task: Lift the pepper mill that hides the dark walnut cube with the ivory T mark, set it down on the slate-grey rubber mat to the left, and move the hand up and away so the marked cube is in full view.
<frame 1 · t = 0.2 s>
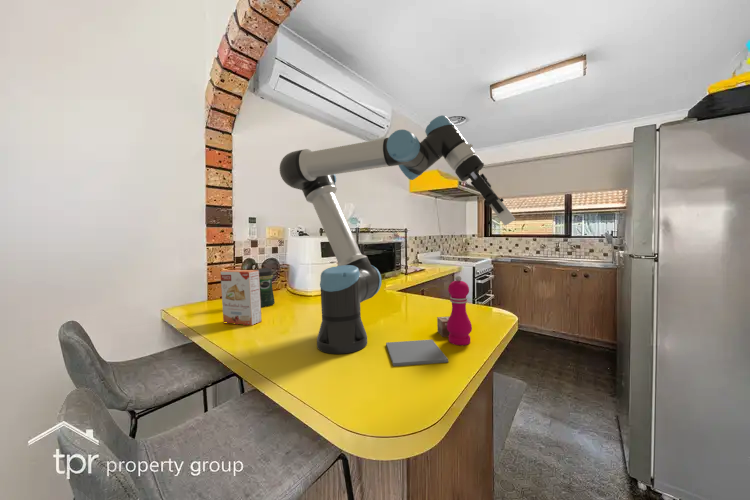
hand: (510, 222, 79), 35 cm above the countertop, tool tilted 35°, fingers open, 13 cm apart
marked cube: (447, 333, 94), on the countertop
pepper mill: (459, 342, 86), on the countertop
coffee jar: (264, 306, 142), on the countertop
cracker box: (242, 323, 113), on the countertop
grey mat: (414, 353, 79), on the countertop
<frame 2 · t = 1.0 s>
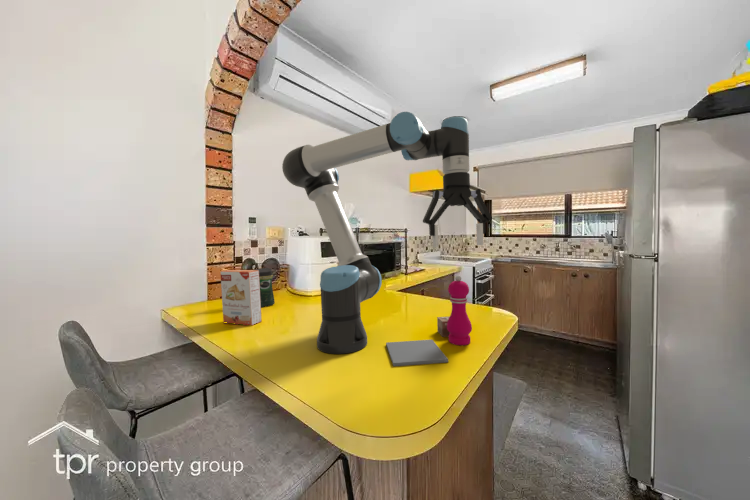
hand: (458, 246, 85), 29 cm above the countertop, tool pointing down, fingers open, 13 cm apart
nothing on the countertop moved.
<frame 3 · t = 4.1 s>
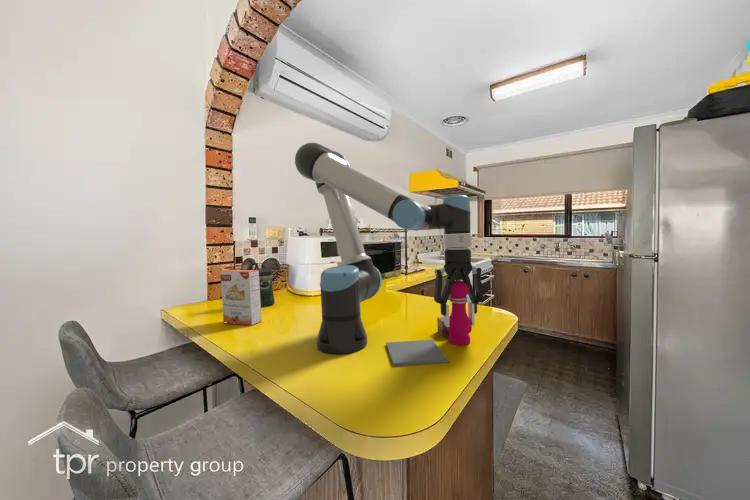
hand: (459, 324, 86), 5 cm above the countertop, tool pointing down, fingers closed on pepper mill, 7 cm apart
pepper mill: (459, 342, 86), on the countertop, touching gripper
everything else where it was.
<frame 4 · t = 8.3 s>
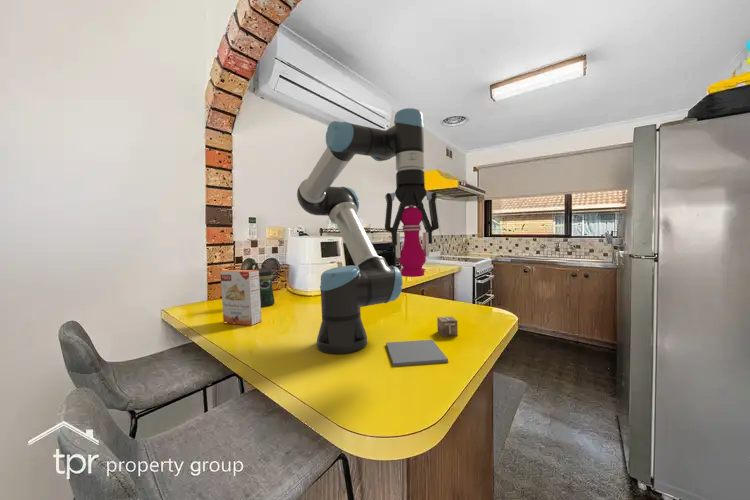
hand: (412, 256, 78), 27 cm above the countertop, tool pointing down, fingers closed on pepper mill, 7 cm apart
pepper mill: (412, 276, 78), point 21 cm above the countertop, touching gripper
everything else where it was.
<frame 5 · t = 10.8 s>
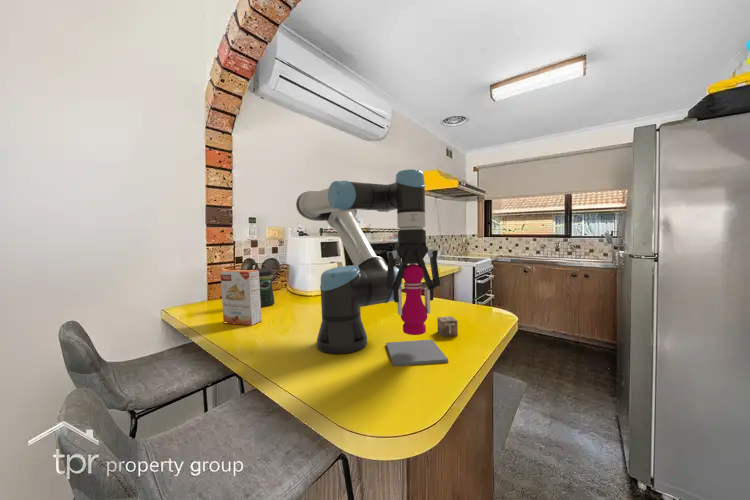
hand: (413, 313, 78), 11 cm above the countertop, tool pointing down, fingers closed on pepper mill, 7 cm apart
pepper mill: (414, 332, 79), point 6 cm above the countertop, touching gripper
everything else where it was.
when the fingers open (7 cm above the countertop, at t = 12.6 s): pepper mill drops 1 cm, resting on grey mat.
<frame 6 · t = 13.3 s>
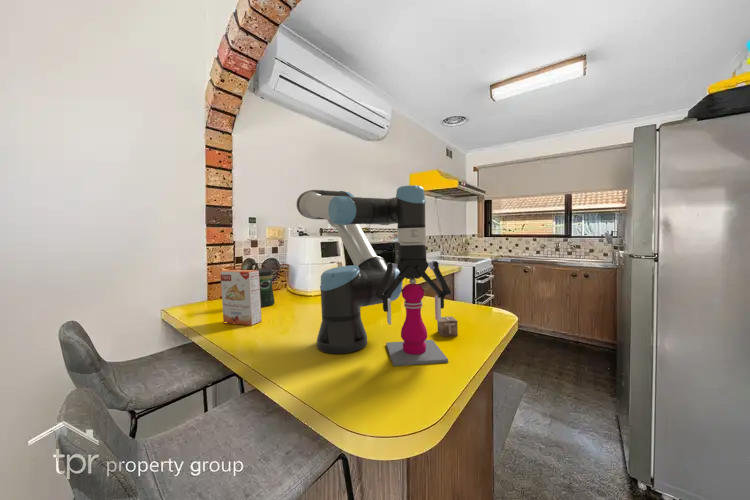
hand: (413, 321, 78), 9 cm above the countertop, tool pointing down, fingers open, 13 cm apart
pepper mill: (414, 350, 79), point 1 cm above the countertop, touching grey mat
everything else where it was.
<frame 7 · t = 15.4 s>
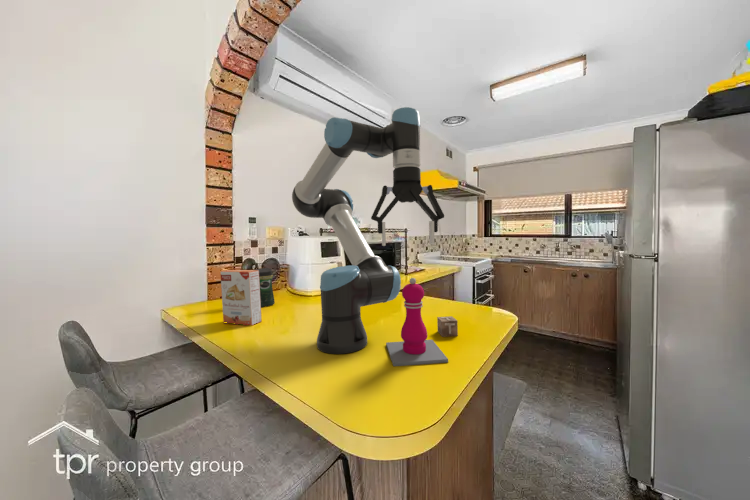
hand: (408, 245, 80), 30 cm above the countertop, tool pointing down, fingers open, 13 cm apart
nothing on the countertop moved.
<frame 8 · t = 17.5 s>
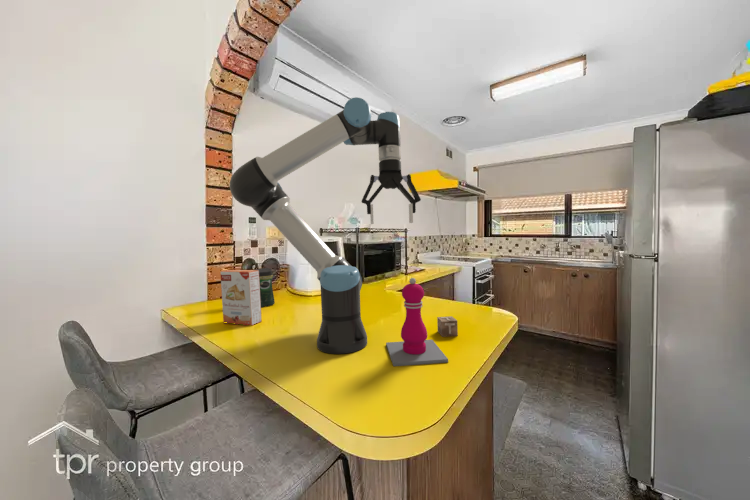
hand: (391, 223, 99), 37 cm above the countertop, tool pointing down, fingers open, 13 cm apart
nothing on the countertop moved.
at the end: pepper mill inside the target area on the grey mat (0.1 cm from its centre), point 0.6 cm above the grey mat's base; pepper mill tilted 0°; marked cube moved 0.1 cm from its start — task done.
